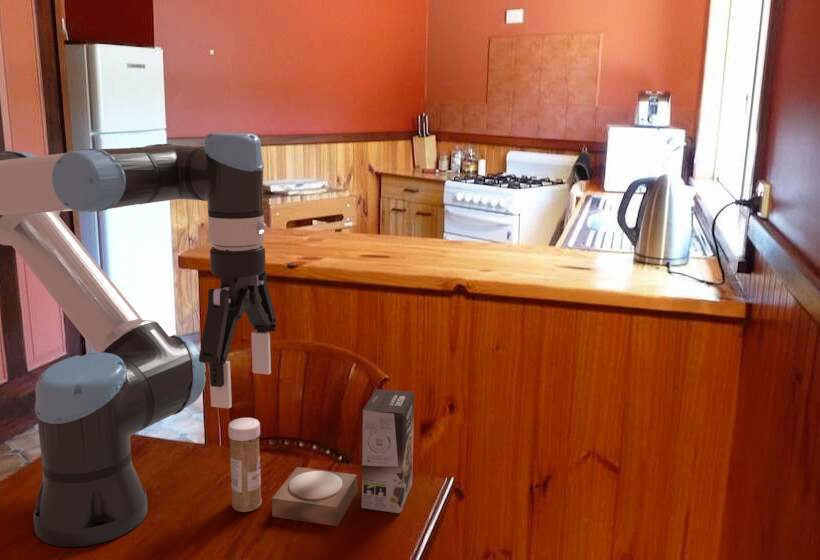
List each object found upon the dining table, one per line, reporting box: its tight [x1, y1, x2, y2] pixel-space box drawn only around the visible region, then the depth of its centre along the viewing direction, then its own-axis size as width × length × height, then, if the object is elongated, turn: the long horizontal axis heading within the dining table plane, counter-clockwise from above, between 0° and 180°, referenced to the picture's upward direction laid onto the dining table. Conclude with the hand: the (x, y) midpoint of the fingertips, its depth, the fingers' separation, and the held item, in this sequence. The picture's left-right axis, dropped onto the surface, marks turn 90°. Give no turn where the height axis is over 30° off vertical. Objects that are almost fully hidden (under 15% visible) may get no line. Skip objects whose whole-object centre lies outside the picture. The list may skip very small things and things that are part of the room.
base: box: [271, 466, 358, 527], centre depth 112 cm, size 10×10×3 cm
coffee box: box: [361, 388, 415, 514], centre depth 113 cm, size 9×6×16 cm
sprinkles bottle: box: [227, 417, 263, 513], centre depth 110 cm, size 5×5×14 cm
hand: (242, 389), depth 107 cm, fingers open, 13 cm apart
